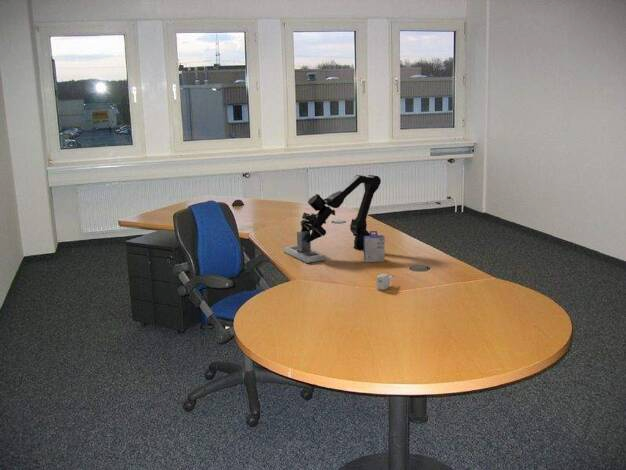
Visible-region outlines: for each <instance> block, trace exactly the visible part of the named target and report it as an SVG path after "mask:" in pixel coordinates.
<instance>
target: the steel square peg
mask: <svg viewBox="0 0 626 470" xmlns="http://www.w3.org/2000/svg"><path fill="white" fill-rule="evenodd" d="M310 235H311V231H310V232H307V231H302V232H301V231H297V232H296V246H297V251H298V252H300V253H306V252H311V249H312V248H311V247H312V246H311V242H312V241H311V242H309V243H307V242H306V241H307V239H308V238H309V236H310Z"/></svg>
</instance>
